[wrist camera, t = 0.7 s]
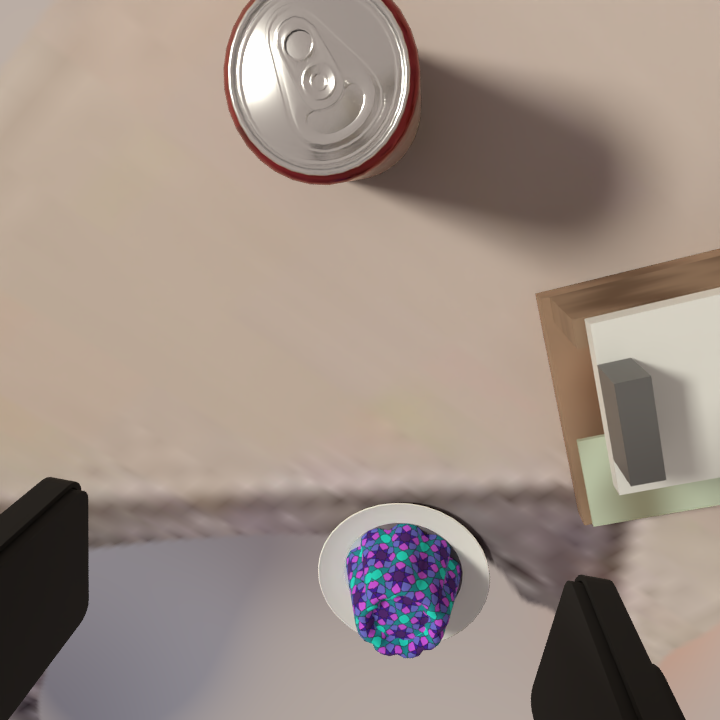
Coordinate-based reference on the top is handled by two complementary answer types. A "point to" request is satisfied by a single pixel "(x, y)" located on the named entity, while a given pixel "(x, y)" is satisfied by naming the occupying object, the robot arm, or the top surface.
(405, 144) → the soda can
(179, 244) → the top surface
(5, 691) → the robot arm
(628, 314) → the sliding lid
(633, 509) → the puzzle board
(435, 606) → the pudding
